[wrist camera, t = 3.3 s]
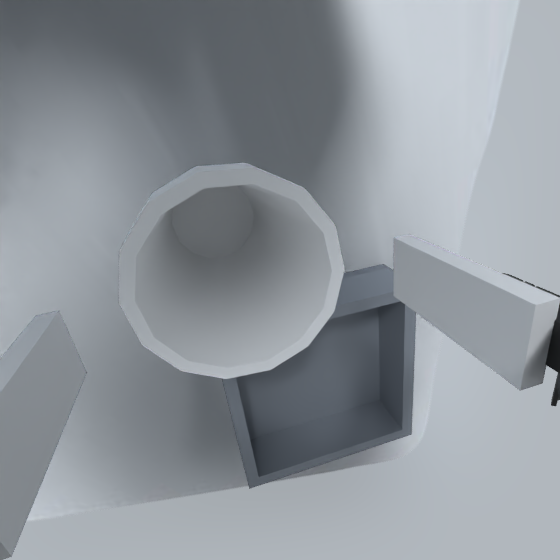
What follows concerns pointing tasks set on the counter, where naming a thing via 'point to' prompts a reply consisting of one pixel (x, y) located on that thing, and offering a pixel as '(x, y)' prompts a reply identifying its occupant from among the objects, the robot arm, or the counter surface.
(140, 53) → the counter surface
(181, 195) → the foam cup
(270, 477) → the bin
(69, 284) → the counter surface
